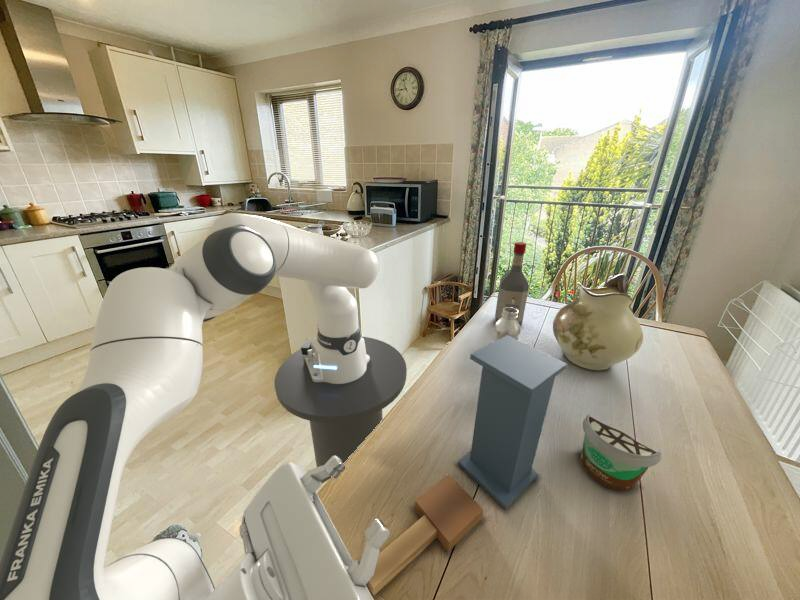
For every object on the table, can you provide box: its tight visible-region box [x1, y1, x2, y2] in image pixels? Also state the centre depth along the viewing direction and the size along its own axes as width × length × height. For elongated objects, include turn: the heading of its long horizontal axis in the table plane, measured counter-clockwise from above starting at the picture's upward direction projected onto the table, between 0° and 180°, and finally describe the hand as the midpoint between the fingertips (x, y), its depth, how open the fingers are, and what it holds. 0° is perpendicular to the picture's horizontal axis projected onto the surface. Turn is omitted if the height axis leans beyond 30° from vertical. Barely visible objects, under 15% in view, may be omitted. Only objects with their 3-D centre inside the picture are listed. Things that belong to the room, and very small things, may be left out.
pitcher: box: [552, 273, 644, 371], centre depth 90 cm, size 22×24×25 cm
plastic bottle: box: [493, 307, 521, 342], centre depth 83 cm, size 6×7×20 cm
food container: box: [580, 412, 663, 492], centre depth 57 cm, size 12×6×10 cm, turn 40°
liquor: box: [494, 241, 530, 328], centre depth 109 cm, size 9×9×30 cm
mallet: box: [366, 473, 484, 597], centre depth 49 cm, size 8×20×2 cm, turn 128°
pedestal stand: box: [457, 335, 568, 510], centre depth 55 cm, size 11×10×26 cm
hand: (360, 489), depth 35 cm, fingers open, 8 cm apart
